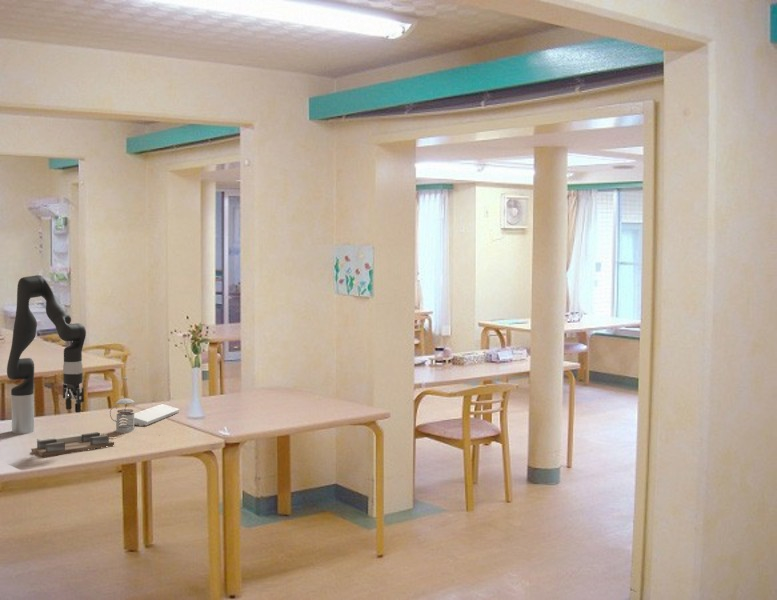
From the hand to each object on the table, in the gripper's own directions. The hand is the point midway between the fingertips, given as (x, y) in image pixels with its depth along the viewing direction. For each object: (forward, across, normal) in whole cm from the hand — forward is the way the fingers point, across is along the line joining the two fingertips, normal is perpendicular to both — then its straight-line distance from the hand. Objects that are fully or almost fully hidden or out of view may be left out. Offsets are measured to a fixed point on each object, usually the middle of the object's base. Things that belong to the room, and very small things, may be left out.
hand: (73, 410), depth 369 cm
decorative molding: (+16, -29, +59) cm, 67 cm away
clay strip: (+14, -7, -1) cm, 16 cm away
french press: (+16, -18, +32) cm, 40 cm away
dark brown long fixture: (+16, 0, 0) cm, 16 cm away
